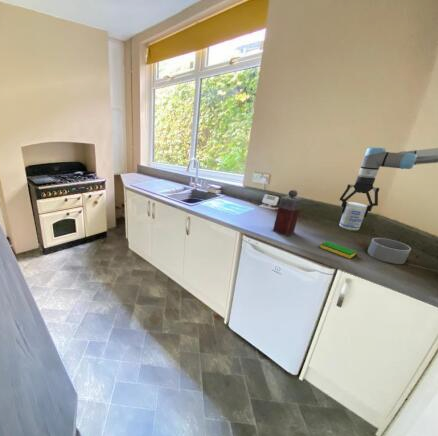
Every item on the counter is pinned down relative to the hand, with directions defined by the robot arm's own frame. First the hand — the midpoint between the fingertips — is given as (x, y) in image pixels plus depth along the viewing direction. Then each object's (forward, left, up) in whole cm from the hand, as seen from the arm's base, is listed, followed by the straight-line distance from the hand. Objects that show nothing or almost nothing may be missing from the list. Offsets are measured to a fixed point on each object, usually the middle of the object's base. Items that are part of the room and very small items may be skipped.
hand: (353, 214), depth 138 cm
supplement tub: (0, 0, -9) cm, 9 cm away
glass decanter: (+31, +14, -16) cm, 38 cm away
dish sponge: (+3, +24, -16) cm, 29 cm away
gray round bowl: (-17, +14, -16) cm, 27 cm away
